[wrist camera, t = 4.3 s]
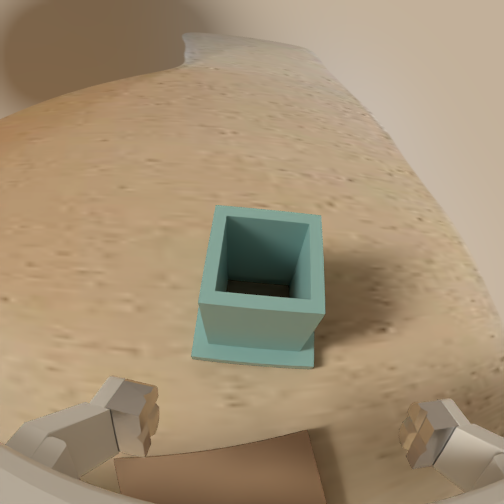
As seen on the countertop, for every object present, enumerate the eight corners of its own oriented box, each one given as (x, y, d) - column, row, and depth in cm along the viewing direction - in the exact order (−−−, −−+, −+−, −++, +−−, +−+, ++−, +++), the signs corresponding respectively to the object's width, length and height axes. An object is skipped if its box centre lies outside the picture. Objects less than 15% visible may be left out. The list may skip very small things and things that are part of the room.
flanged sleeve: (311, 369, 21) (345, 334, 14) (192, 359, 21) (173, 319, 14) (311, 268, 25) (336, 204, 19) (208, 258, 25) (201, 191, 19)
